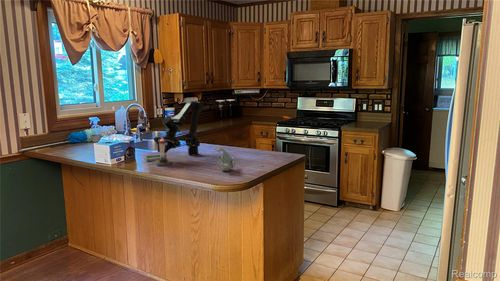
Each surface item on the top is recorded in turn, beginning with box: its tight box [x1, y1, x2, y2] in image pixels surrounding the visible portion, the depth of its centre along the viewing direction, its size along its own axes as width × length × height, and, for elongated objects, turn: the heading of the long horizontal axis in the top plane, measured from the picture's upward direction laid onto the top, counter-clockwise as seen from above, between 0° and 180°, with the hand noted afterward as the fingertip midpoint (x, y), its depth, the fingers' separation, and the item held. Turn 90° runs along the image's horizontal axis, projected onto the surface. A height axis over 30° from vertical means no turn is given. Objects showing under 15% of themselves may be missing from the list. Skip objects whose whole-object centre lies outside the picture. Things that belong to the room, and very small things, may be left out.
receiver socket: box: [154, 158, 174, 167], centre depth 239 cm, size 9×9×2 cm
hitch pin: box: [158, 138, 168, 162], centre depth 238 cm, size 6×6×16 cm
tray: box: [144, 154, 160, 163], centre depth 253 cm, size 13×10×2 cm
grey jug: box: [216, 146, 236, 172], centre depth 219 cm, size 17×10×15 cm, turn 5°
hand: (161, 152), depth 237 cm, fingers open, 5 cm apart
